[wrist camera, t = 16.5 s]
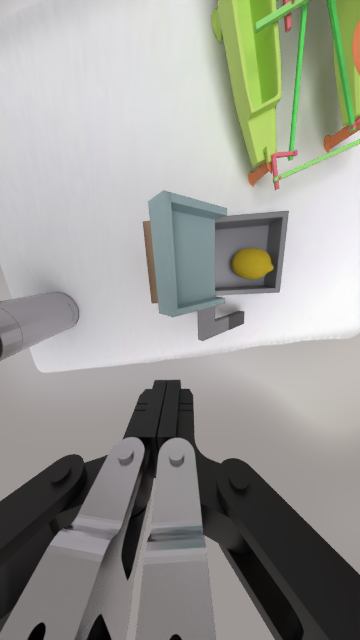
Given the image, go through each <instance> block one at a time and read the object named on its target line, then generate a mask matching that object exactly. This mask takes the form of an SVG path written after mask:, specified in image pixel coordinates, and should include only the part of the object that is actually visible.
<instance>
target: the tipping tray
mask: <svg viewBox="0 0 360 640" xmlns="http://www.w3.org/2000/svg"><path fill="white" fill-rule="evenodd" d="M148 203H149V213H150V224H151V234H152V244H153V254H154V265H155V275H156V285H157V296H158V306H159V313H161V314H164V315H167V316H171V317H175V316H179V315H183V314H186V313H190V312H194V311H197V313H198V339H199V340H201V341H204V340H206V339H208V338H211V337H213V336H215V335H218V334H220V333H222V332H225V331H227V330H230V329H232V328H235V327H237V326H239V325H242V324H244V311H238V312H235V313H232V314H229V315H226V316H223V317H220V318H217V319H215V306H216V305H220V304H224V303H225V298H221V297H215V219H218V218H221V217H224V216H227V208H223V207H220V206H216V205H213V204H209V203H206V202H202V201H199V200H195V199H192V198H188V197H185V196H181V195H178V194H174V193H171V192H167V191H162V192H161V193H159V194H158V195H157V196H155V197H154V198H152V199H151V200H150V201H148Z"/></svg>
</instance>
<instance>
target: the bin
mask: <svg viewBox="0 0 360 640" xmlns="http://www.w3.org/2000/svg"><path fill="white" fill-rule="evenodd" d="M288 213H289V211H279V212H268V213H256V214H245V215H234V216H224V217H221V218H218V219H215V295H233V294H255V293H277V292H280V284H281V275H282V266H283V257H284V249H285V240H286V231H287V222H288ZM245 248H258V249H262V250H264V251H266V252H267V253H268V254H269V256H270V258H271V263H272V265H273V267H274V268H273V270H272V271H270V272H268V273H267V274H266V275H265V276H263V277H262V278H259V279H256V280H249V279H245V278H242V277H240V276H238V275H237V274H236V273H235V272H234V271H233V269H232V265H231V263H232V262H231V259H232V258H233V257H234V255H235V254H236V253H237V252H238V251H240V250H242V249H245Z"/></svg>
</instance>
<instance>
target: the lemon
mask: <svg viewBox="0 0 360 640" xmlns="http://www.w3.org/2000/svg"><path fill="white" fill-rule="evenodd" d="M231 262H232V263H231V265H232V269H233V271H234V272H235V273H236V274H237V275H238V276H240V277H242V278H245V279H249V280H256V279H259V278H262V277H263V276H265V275H266V274H267V273H268V272H270V271H272V270H273V268H274V267H273V265H272V263H271V258H270V256H269V254H268V253H267V252H266V251H264V250H262V249H258V248H245V249H242V250H240V251H238V252H237V253H236V254H235V255H234V257H233V258H232V259H231Z"/></svg>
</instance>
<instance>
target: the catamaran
mask: <svg viewBox="0 0 360 640" xmlns="http://www.w3.org/2000/svg"><path fill="white" fill-rule="evenodd" d="M308 1H310V0H292V1H290V0H283V6H282V7H280V8H279V9H277V7H276V3H277V2H279V0H217V2H218V8H215V9H214V10H213V13H212V26H213V30H214V33H215V35H216V38H217V39H218V41H219V42H220V43H221V42H222V35H223V40H224V46H225V51H226V57H227V63H228V69H229V74H230V80H231V86H232V91H233V97H234V102H235V106H236V111H237V115H238V119H239V123H240V126H241V130H242V134H243V137H244V141H245V144H246V148H247V151H248V155H249V158H250V161H251V165H252V168H257V167H259V166H260V167H259V168H258V169H257V170H256V171H255V172H254V173H253V172H252V171H251V172H250V173H249V176H248V177H249V182H250V184H251V185H252V186H253V187H254V183H255V182H256V181H258V180H259V179H260V178H261V177H262V176H264V175H265V174H266V173H267V172H268V171H270V172H271V174H272V170H273V183H274V187H275V190H277V189H279V181H278V180H280V179H283V178H285V177H287V176H289V175H291V174H294V173H296V172H298V171H300V170H303V169H305V168H307V167H309V166H311V165H314V164H316V163H318V162H320V161H323V160H325V159H327V158H329V157H331V156H334V155H336V154H338V153H340V152H343V151H345V150H347V149H349V148H351V147H354V146H356V145H358V144H360V139H359V140H356V141H354V142H352V143H350V144H348V145H345V146H343V147H341V148H339V149H337V150H334V151H332V152H330V153H328V154H326V155H323V156H321V157H319V158H317V159H315V160H312V161H310V162H308V163H306V164H304V165H301V166H299V167H297V168H295V169H293V170H290V171H288V172H286V173H284V174H282V175H279V176H278V172H277V163H276V158H280V157H288V161H289V160H292V159H293V156H296V155H297V150H295V151H293V150H294V140H295V129H296V119H297V109H298V98H299V88H300V77H301V67H302V57H303V46H304V36H305V26H306V15H307V5H308ZM327 4H328V9H329V15H330V21H331V26H332V32H333V51H334V67H335V77H336V85H337V92H338V99H339V105H340V112H341V118H342V125H343V126H346V125H347V126H346V127H344V128H343V129H342V130H340V131H339V132H337V133H336V134H335V135H333V136H332V137H330V136H329V135H327V136H326V137H325V140H324V147H325V150H326V151H327V152H329V150H330V148H332V147H334V146H335V145H337V144H338V143H340V142H341V141H343V140H345V139H346V138H348V137H349V136H351V135H352V134H354V133H355V132H357V131H359V130H360V0H327ZM300 6H302V10H301V21H300V32H299V44H298V55H297V67H296V78H295V89H294V101H293V112H292V123H291V135H290V146H289V151H288V152H278V153H277V150H276V105H277V103H278V102H279V100H280V99H281V58H280V43H279V31H278V20H279V19H281V18H282V17H284V20H285V32H288V31H290V29H291V27H292V24H291V12H292V11H294V10H295V9H297V8H299V7H300ZM348 124H349V125H348Z"/></svg>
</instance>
